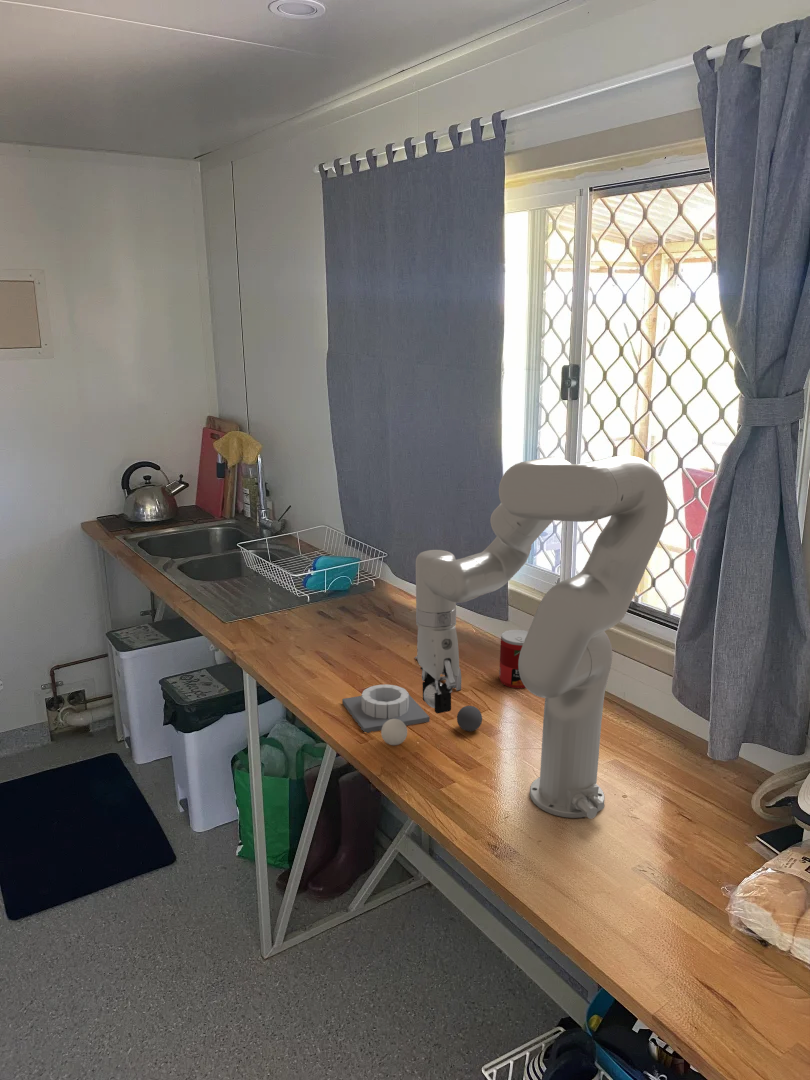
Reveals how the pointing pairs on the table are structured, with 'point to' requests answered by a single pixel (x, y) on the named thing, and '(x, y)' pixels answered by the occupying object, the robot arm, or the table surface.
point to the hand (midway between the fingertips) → (436, 704)
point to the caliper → (457, 679)
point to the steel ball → (430, 694)
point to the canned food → (511, 657)
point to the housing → (384, 707)
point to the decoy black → (469, 718)
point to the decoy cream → (394, 731)
